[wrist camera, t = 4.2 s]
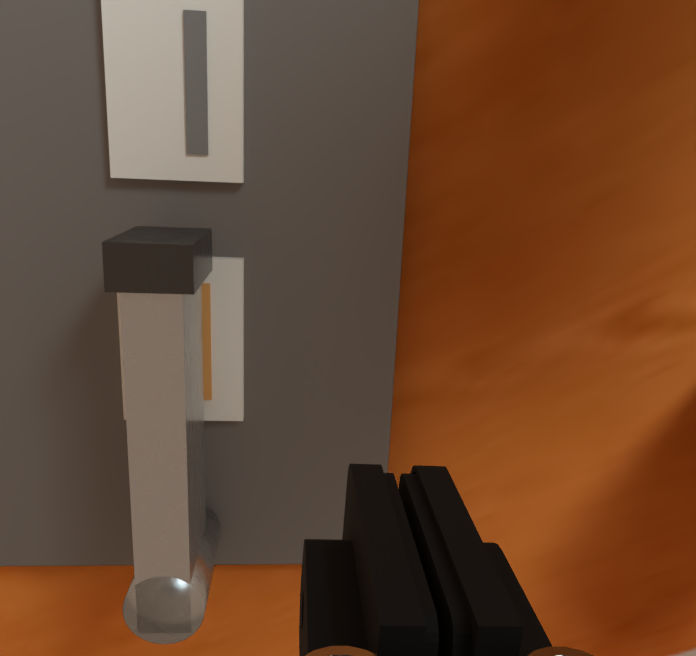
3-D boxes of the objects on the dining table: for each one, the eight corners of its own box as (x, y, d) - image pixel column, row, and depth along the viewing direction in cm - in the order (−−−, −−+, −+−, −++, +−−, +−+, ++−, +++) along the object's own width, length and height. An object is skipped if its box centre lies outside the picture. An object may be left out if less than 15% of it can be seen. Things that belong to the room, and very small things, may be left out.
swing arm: (140, 222, 25) (98, 241, 20) (217, 225, 25) (196, 244, 20) (155, 559, 29) (123, 648, 24) (221, 559, 29) (204, 647, 24)
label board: (-68, -69, 23) (-103, -90, 21) (415, -36, 25) (425, -52, 23) (3, 546, 30) (-18, 574, 28) (378, 544, 32) (383, 571, 30)
